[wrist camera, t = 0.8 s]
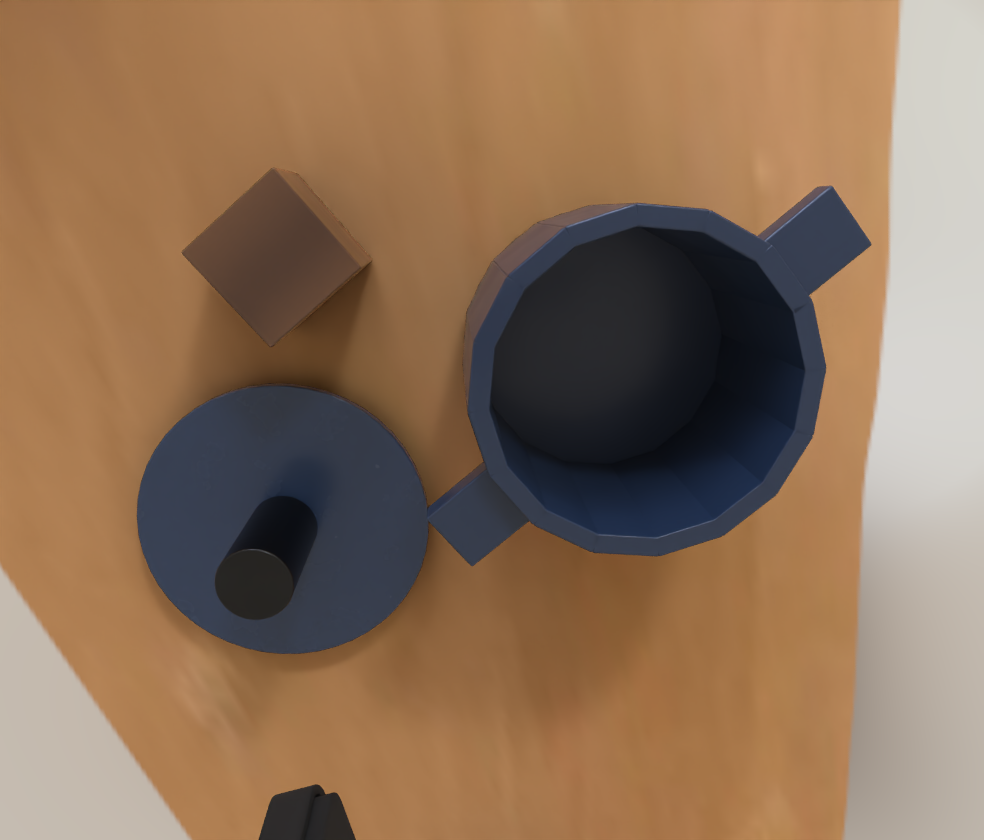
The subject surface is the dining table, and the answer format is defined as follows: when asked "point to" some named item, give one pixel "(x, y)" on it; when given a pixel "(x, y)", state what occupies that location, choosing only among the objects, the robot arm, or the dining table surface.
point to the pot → (643, 374)
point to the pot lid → (283, 518)
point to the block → (277, 254)
